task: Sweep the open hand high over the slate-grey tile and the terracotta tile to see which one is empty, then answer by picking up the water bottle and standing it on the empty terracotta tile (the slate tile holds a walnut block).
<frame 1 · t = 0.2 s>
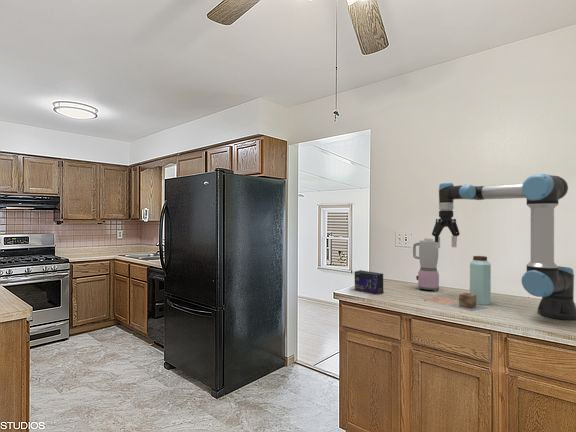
hand: (445, 247, 201), 28 cm above the table, fingers open, 13 cm apart
blender: (425, 289, 224), on the table
water bottle: (480, 304, 186), on the table
terracotta tile: (442, 301, 191), on the table
walnut block: (467, 306, 178), point 1 cm above the table, touching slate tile
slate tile: (467, 308, 178), on the table
black digital alarm clock: (368, 292, 216), on the table
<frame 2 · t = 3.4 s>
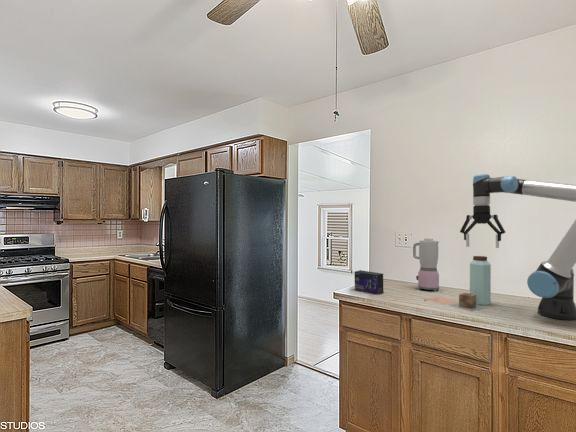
hand: (482, 247, 180), 30 cm above the table, fingers open, 13 cm apart
nothing on the table moved.
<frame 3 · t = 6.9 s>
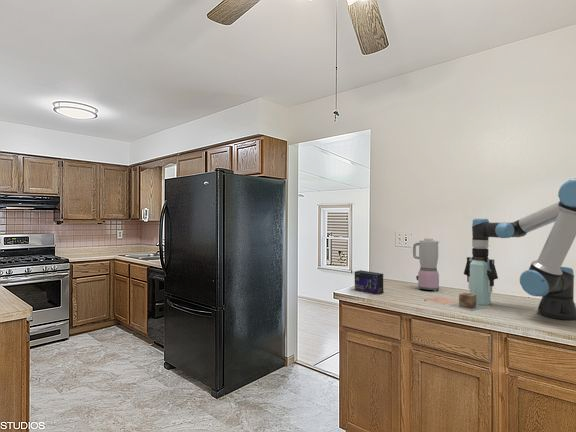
hand: (480, 290, 186), 7 cm above the table, fingers closed on water bottle, 10 cm apart
water bottle: (480, 304, 186), on the table, touching gripper
everything else where it was.
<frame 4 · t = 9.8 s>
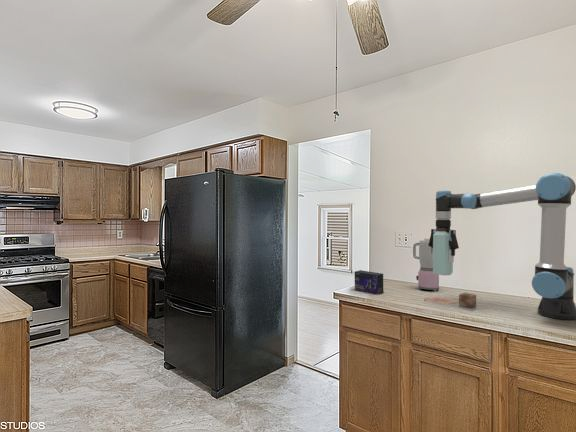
hand: (442, 260, 191), 22 cm above the table, fingers closed on water bottle, 10 cm apart
water bottle: (442, 274, 191), point 15 cm above the table, touching gripper
everything else where it was.
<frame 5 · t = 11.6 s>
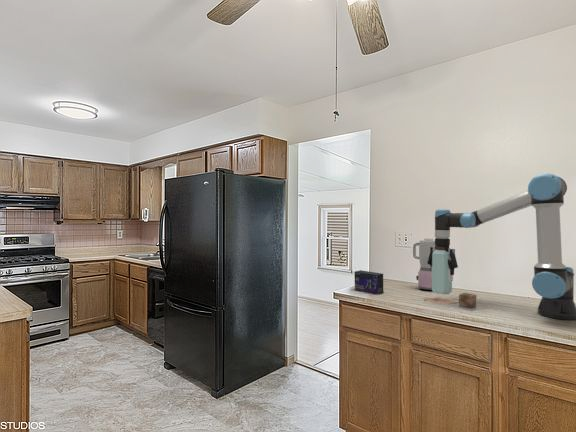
hand: (441, 279, 191), 12 cm above the table, fingers closed on water bottle, 10 cm apart
water bottle: (441, 293, 191), point 5 cm above the table, touching gripper
everything else where it was.
when the fingers open (9 cm above the table, at t = 12.9 s): water bottle stays where it is, resting on terracotta tile.
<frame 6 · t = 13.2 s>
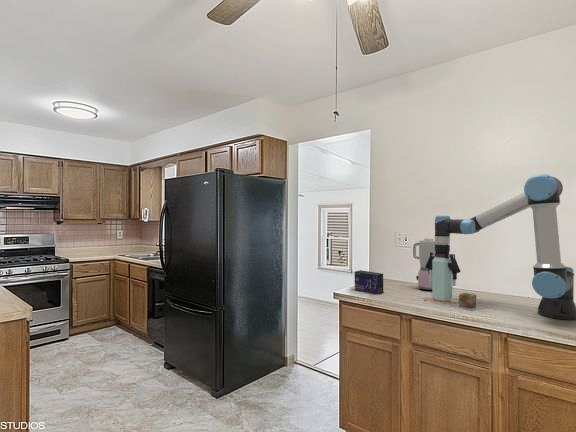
hand: (442, 283, 191), 10 cm above the table, fingers open, 13 cm apart
water bottle: (442, 300, 191), point 1 cm above the table, touching terracotta tile
everything else where it was.
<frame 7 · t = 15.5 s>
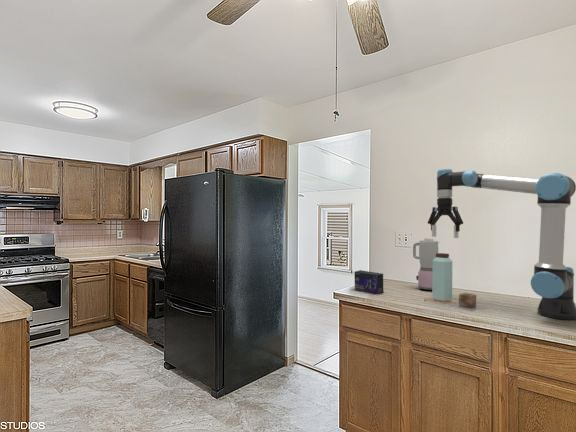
hand: (444, 237, 192), 35 cm above the table, fingers open, 13 cm apart
nothing on the table moved.
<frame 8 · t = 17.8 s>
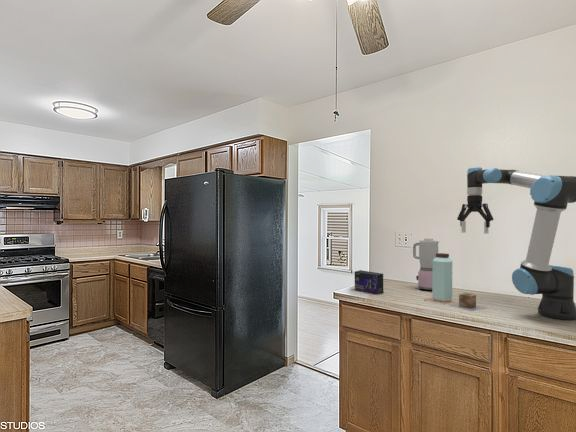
hand: (474, 233, 199), 37 cm above the table, fingers open, 13 cm apart
nothing on the table moved.
at the end: water bottle inside the target area (0.1 cm from its centre), point 0.6 cm above the table; water bottle tilted 0°; walnut block moved 0.0 cm from its start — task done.
